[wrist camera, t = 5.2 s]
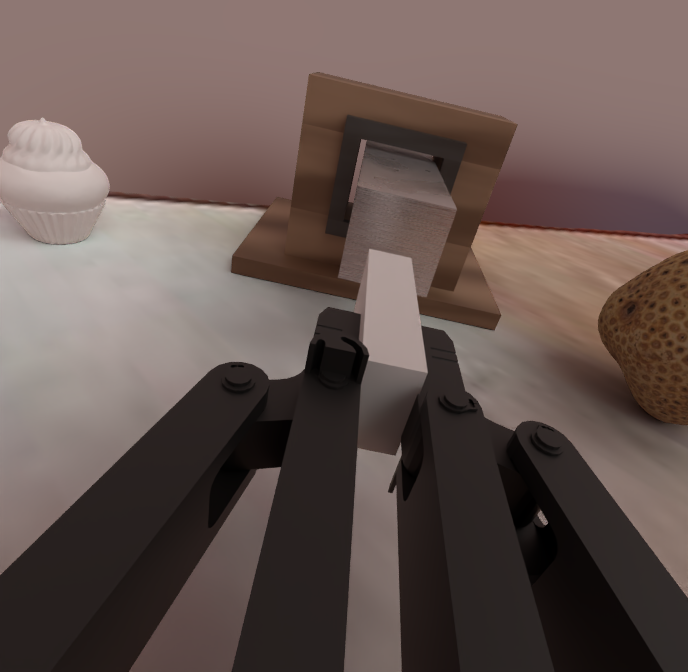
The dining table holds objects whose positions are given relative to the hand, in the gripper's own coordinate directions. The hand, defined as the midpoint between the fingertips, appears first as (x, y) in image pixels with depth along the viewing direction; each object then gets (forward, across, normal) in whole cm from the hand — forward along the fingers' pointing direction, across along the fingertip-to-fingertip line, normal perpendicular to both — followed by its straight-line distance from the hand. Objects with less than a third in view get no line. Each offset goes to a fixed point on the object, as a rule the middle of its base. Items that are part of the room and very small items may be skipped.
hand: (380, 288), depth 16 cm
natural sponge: (+6, +18, -7) cm, 20 cm away
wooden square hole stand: (+19, +1, -7) cm, 20 cm away
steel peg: (+15, +1, -2) cm, 15 cm away
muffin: (+12, -20, -7) cm, 24 cm away
